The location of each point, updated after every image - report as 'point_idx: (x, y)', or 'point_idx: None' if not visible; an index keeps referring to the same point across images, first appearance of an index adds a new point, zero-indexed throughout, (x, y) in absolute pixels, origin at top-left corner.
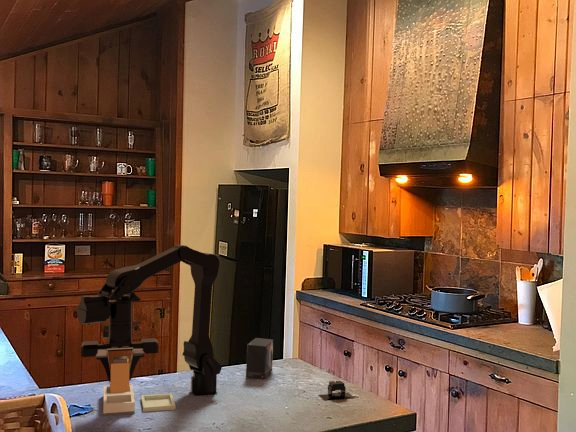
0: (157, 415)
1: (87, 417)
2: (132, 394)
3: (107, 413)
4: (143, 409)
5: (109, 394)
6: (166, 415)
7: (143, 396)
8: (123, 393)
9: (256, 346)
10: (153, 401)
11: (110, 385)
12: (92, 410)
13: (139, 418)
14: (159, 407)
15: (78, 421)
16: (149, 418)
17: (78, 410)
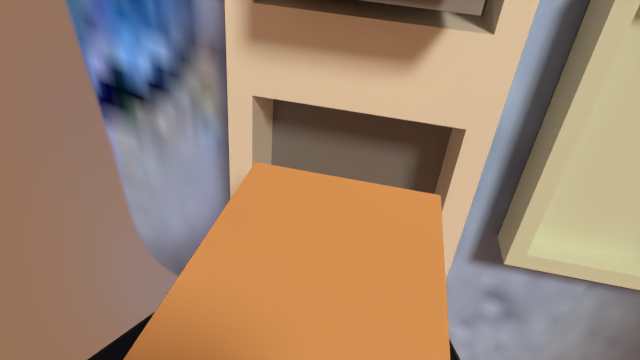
0: (566, 286)
1: (176, 165)
2: (481, 138)
3: None
4: (505, 242)
5: (277, 60)
6: (617, 305)
7: (633, 5)
8: (408, 75)
9: None
10: None
11: (248, 179)
12: (191, 51)
13: (449, 284)
14: (615, 279)
15: (140, 202)
16: (501, 304)
17: (100, 16)
